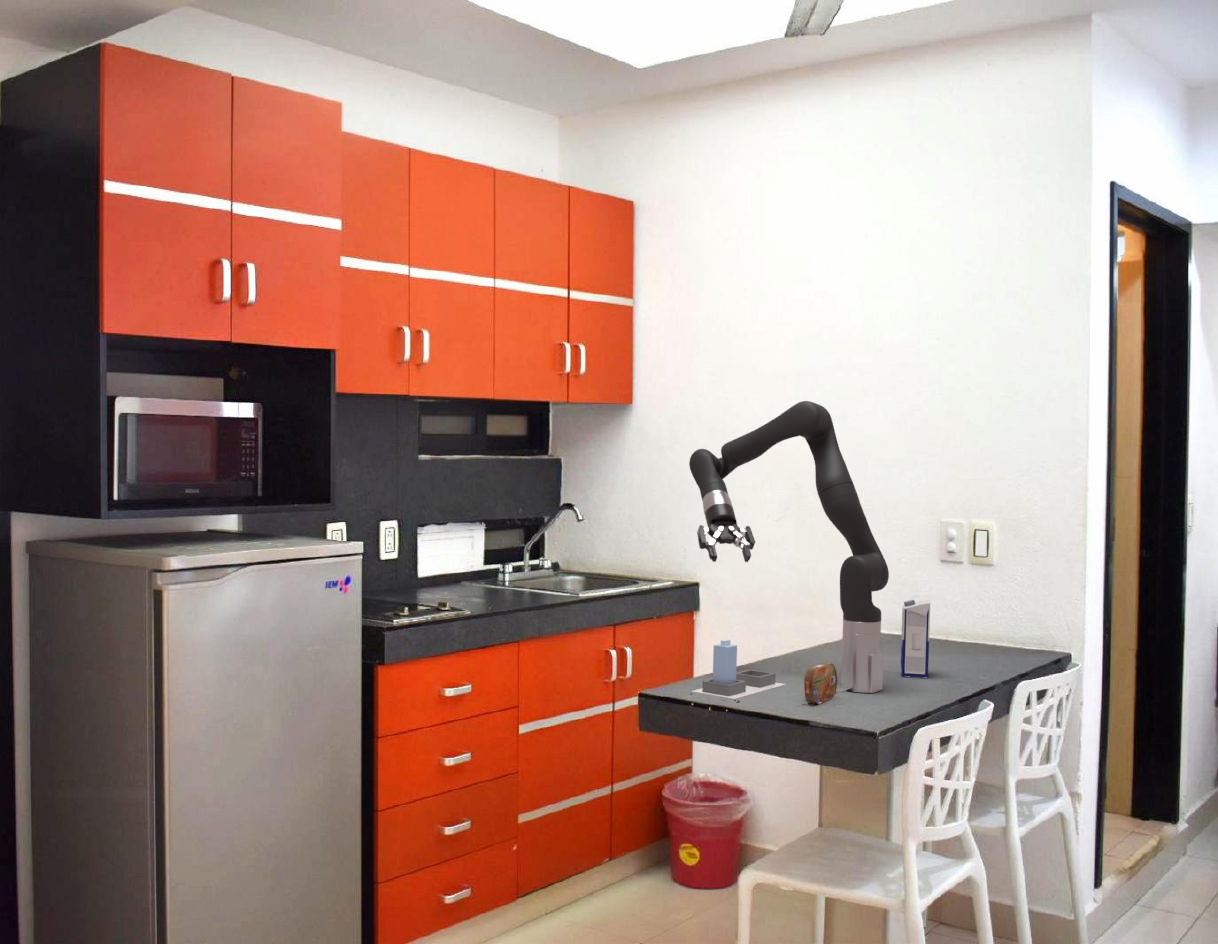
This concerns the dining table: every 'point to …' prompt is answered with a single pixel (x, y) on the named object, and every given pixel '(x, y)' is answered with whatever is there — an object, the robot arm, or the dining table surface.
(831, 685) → the tin
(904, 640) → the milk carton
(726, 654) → the plug
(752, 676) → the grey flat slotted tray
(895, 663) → the dining table surface
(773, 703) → the dining table surface
